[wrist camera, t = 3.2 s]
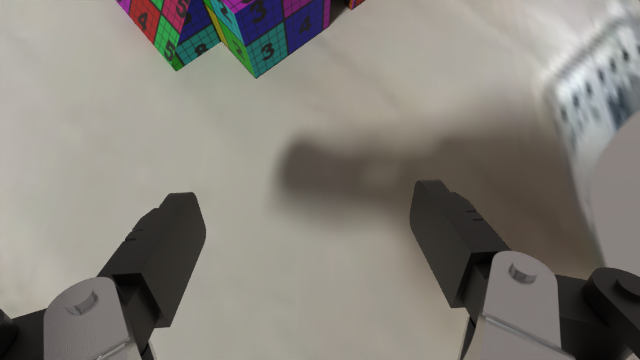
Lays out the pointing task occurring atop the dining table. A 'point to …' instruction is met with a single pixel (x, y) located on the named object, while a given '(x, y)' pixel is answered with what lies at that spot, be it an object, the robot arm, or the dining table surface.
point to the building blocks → (231, 27)
